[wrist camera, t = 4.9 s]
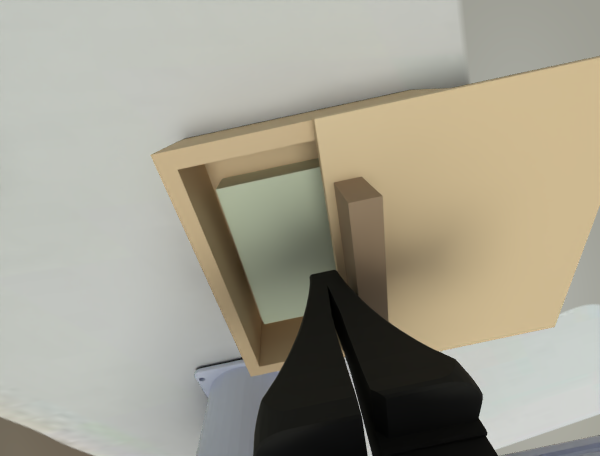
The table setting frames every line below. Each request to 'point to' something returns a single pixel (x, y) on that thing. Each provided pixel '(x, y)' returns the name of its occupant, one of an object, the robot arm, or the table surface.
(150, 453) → the table surface
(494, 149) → the lid
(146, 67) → the table surface
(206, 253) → the box
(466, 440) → the robot arm
